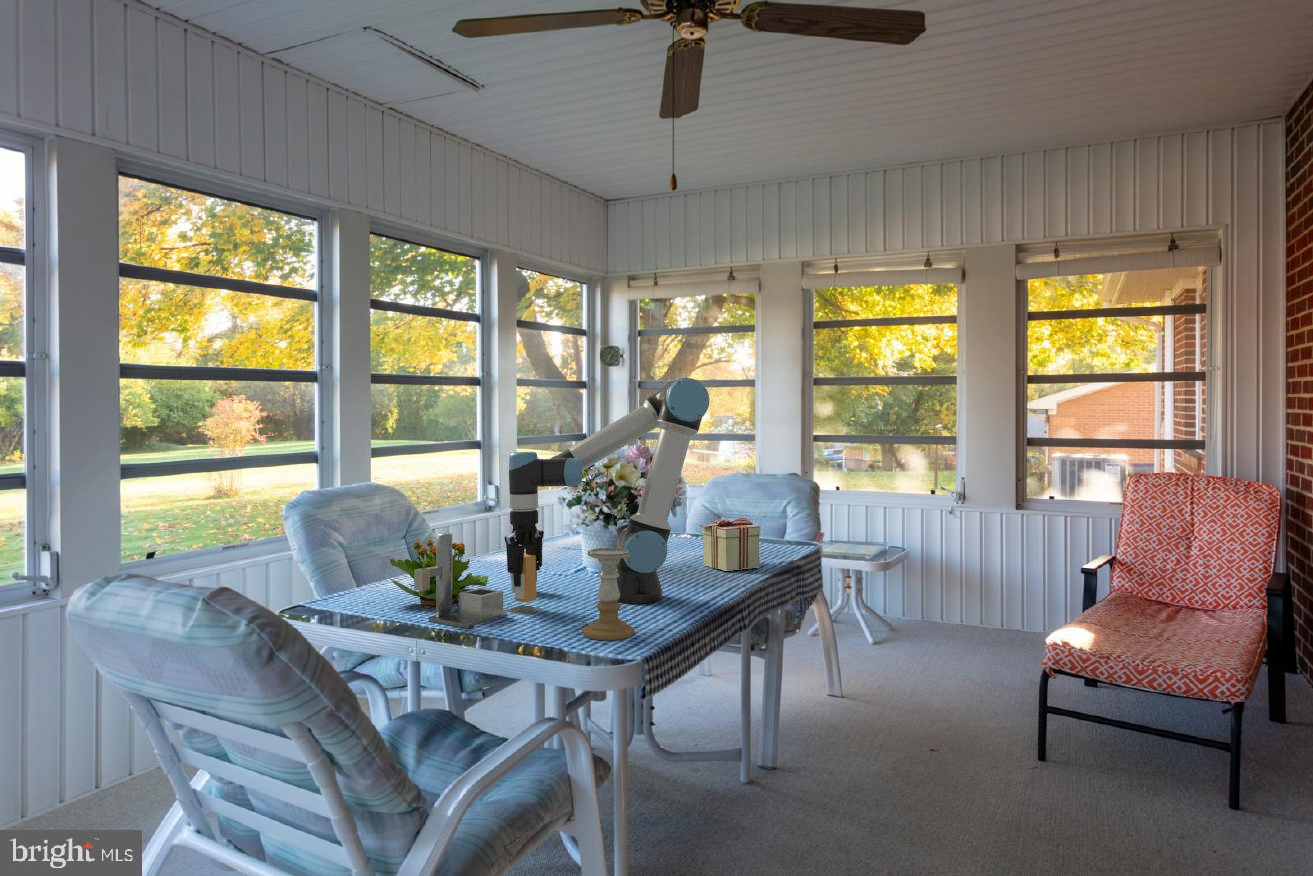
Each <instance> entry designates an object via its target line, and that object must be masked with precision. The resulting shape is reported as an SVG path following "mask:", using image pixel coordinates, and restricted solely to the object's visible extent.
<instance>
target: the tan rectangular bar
mask: <svg viewBox="0 0 1313 876" xmlns="http://www.w3.org/2000/svg"><path fill="white" fill-rule="evenodd" d="M523 558H524V559H523V568H522V574H524V586H525V599H519V598H515V597H514V601H515V602H519V603H526V604H527V603H529V602H533V601H534V602H535V601H537V582H536V555H528V554H524V557H523Z"/></svg>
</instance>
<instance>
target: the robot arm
mask: <svg viewBox="0 0 1313 876" xmlns="http://www.w3.org/2000/svg"><path fill="white" fill-rule="evenodd" d="M643 402H644V403H643V404H642V405H641V406H639V407H637V408H636V409H634V410H632V411H631V412H629V413H627V414H625V415H624V416H622V417H620V418H619V419H617V420H615V421H614V422H612V423H610V424H608V425H606V426H604V427H603V428H602V429H600V430H598V431H596V432H594V433H593V434H591V435H590V436H588V437H586V438H584V439H583V440H581V441H579V442H577V443H575V445H572V446H571V447H569V448H567V449H566V450H564V451H562V452H560V453H559V454H557V455H553V456H552V457H551V458H539V457H538V453H537V452H536V451H514V452H511V453H510V454H509V457H508V485H509V487H508V489H509V509H511V510H510V511H509V523H510V525H512V529H511V534H509V535H505V536H504V538H503V539H504V542H505V545H506V547H505V548H506V566H507V569H506V570H507V573H508V574H510V573H511V574H513V575H514V586H515V593H514V599H515V598H519V599H525V586H524V574H522V568H523V559H524V558H523V557H524V551H526V554H528V555H536V583H537V580H538V575H537V574H538V572H539V571H540V570H541V567H542V566H543V540H544V539H543V538H544V534H545V532H544V530H538V527H537V524H538V523H539V510H537V509H538V508H539V493H538V492H539V490H538V489H539V488H540V487H541V488H544V487H569V488H571V487H574V486H575V487H576V486H577V487H579V486H580V485H582V484H583V471H585V470H587V469H588V468H589V467H591V466H593V465H595V464H597V463H599V462H600V461H602V460H604V459H605V458H607V457H608V456H611V455H612V454H614V453H616V452H617V451H619V450H621V449H623V448H624V447H626V446H627V445H629V444H631V443H633V442H635V441H637V440H638V439H640V438H641V437H643V436H645V435H647V434H648V433H649V432H651V431H653V430H655V429H656V428H657V429H660V430H659V434H658V438H657V441H656V445H655V448H654V451H653V455H652V459H651V461H650V466H649V470H648V474H647V477H646V481H645V485H644V487H643V492H642V494H641V498H640V502H639V505H638V508H637V509H638V510H637V511H636V513H634V514H632V515H631V516H630V517H629V519H619V520H618V521H617V524H616V529H615V532H616V548H621V549H627V550H629V551H630V552H631V554H630V556H628V557H626V558H621V559H620V561H619V563H618V564H617V565H616V571H617V572H618V573H619V577H618V578H617V585H618V589H619V592H620V597H619V599H618V600H617V601H618V602H619V603H624V604H650V603H655V602H659V601H661V600H663V588H662V585H661V581H660V578H659V574H658V570H659V568H661V567H662V566H663V565H664V564H665V561H666V560H667V556H668V550H669V549H668V545H667V544H668V541H669V538H670V534H671V529H672V527H671V525H670V523H669V521H668V520H669V517H670V513H671V510H672V506H673V502H674V499H675V495H676V491H677V488H678V485H679V482H680V478H681V475H682V470H683V468H684V467H683V466H684V464H685V460H686V457H687V451H688V448H689V444H690V441H691V439H692V437H693V436H694V435H696V434H698V433H699V430H700V427H701V423H702V420H703V417H704V416H705V415H706V414H707V411H708V410H709V406H710V394H709V391H708V389H707V388H706V386H705V385H704V384H703V383H702V382H701V381H699V380H697V379H695V378H691V377H681V378H678V379H675V380H672V381H670V382H668V383H667V384H665V385H664V386H662V388H660V389H659V390H658V391H657V392H655V393H654V394H653V395H650V396H649V397H648V398H646V399H645V400H644V401H643Z"/></svg>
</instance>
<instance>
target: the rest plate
mask: <svg viewBox="0 0 1313 876" xmlns="http://www.w3.org/2000/svg"><path fill="white" fill-rule="evenodd" d="M543 610H544V608H543V607H536V606H529V605H523V604H521V605H518V606H514V607H511V608H507V609H503V612H506V613H512V614H513V613H514V614H518V615H523V616H526V615H529V614H533V613H536V612H539V611H543Z"/></svg>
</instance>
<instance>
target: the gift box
mask: <svg viewBox="0 0 1313 876" xmlns="http://www.w3.org/2000/svg"><path fill="white" fill-rule="evenodd" d="M698 527H700V528H701V530H702V531H701V534H702V535H703V536H702V537H703V538H702V539H703V540H702V541H703V547H702V548H703V555H702V556H703V566H704V565H707V566H710V567H712V568H718V569H721V570H724V571H731V570H736V569H743V568H753V567H759V566H760V536H761V526H760V525H754V524H753V523H752V521H750V520H749V519H747V518H746V517H739V518H736V519H734V520H732V521H731V520H729V519H724V518H723V519H722V518H721V519H720V518H719V519H714V520H713V521H712V524H711V523H710V524H702V525H698ZM712 568H711V569H712ZM759 568H760V567H759ZM724 571H723V572H724ZM731 572H732V571H731Z"/></svg>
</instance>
